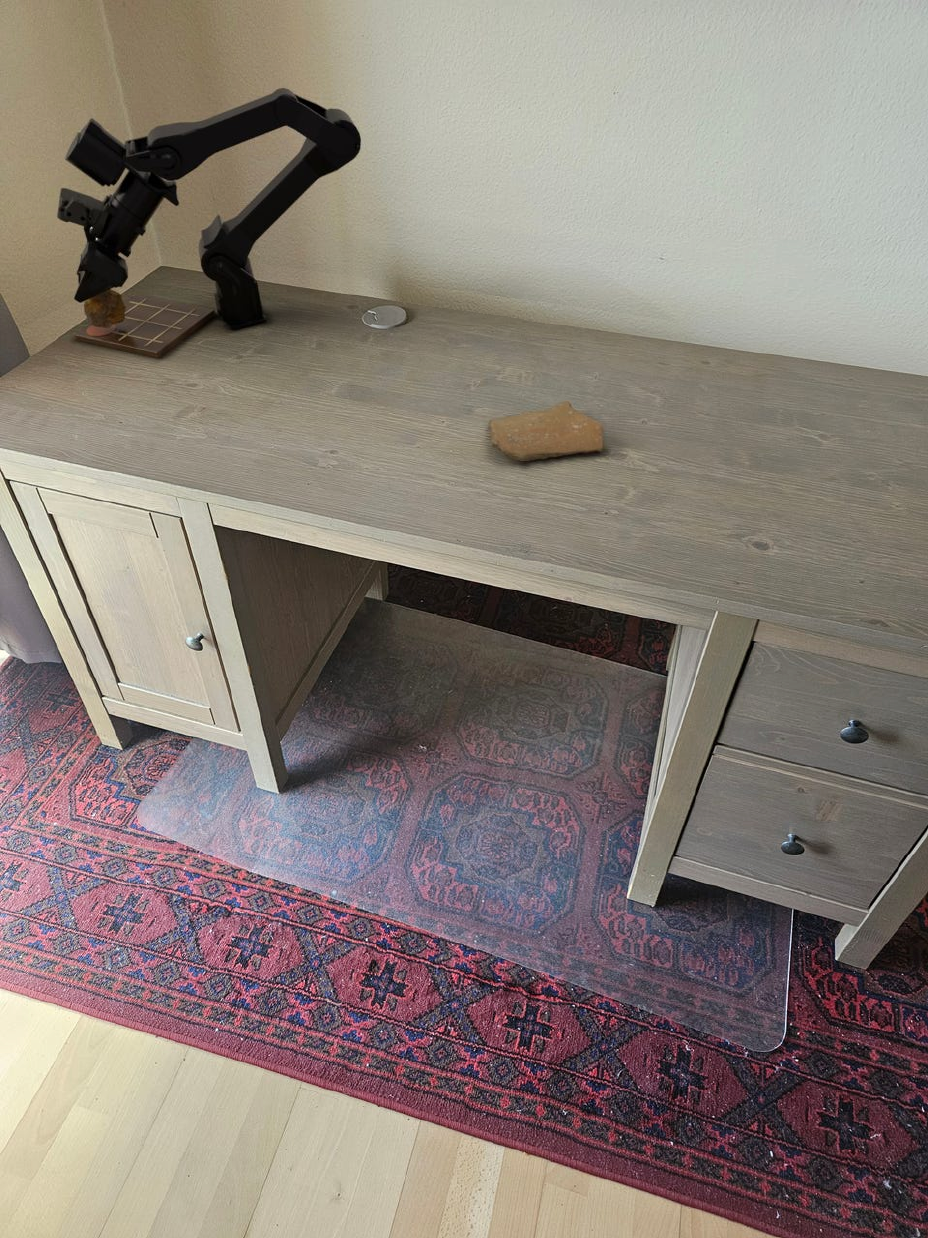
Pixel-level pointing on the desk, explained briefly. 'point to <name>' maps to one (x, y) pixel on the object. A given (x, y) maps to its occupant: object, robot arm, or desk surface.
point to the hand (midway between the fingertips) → (78, 287)
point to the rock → (104, 308)
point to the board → (148, 326)
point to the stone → (546, 433)
